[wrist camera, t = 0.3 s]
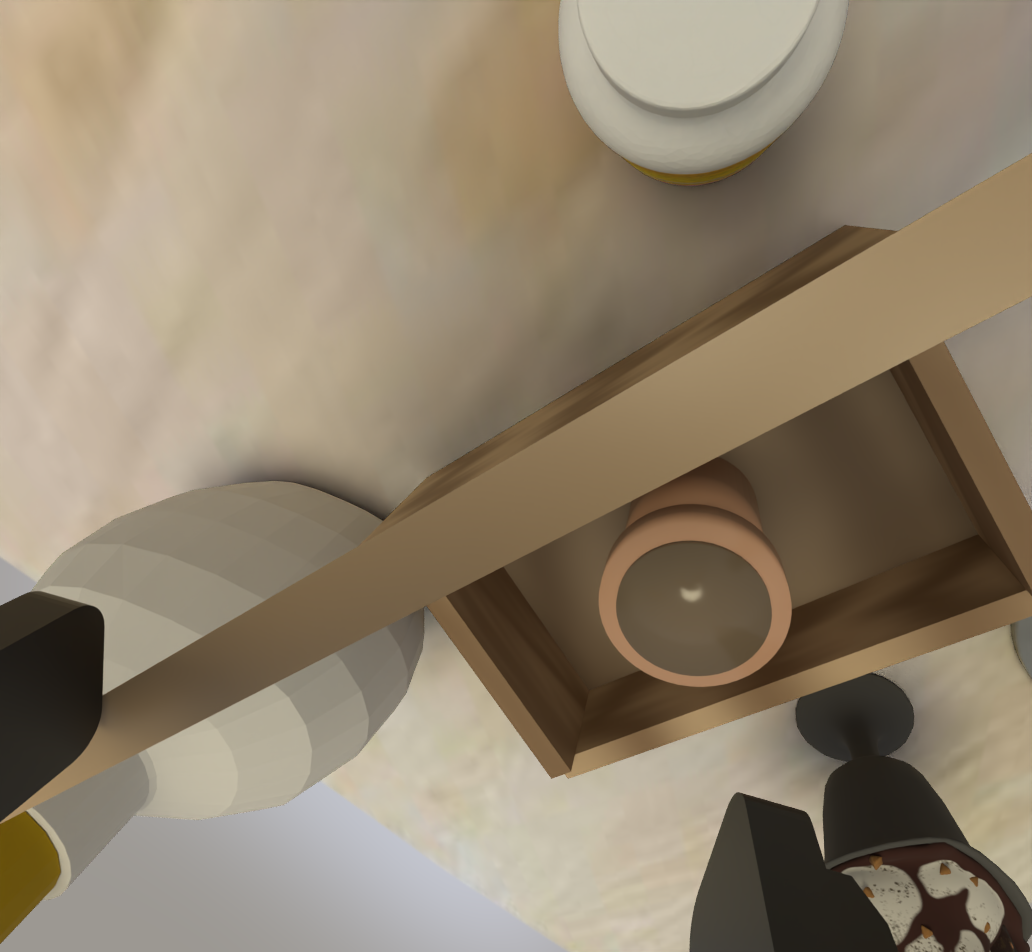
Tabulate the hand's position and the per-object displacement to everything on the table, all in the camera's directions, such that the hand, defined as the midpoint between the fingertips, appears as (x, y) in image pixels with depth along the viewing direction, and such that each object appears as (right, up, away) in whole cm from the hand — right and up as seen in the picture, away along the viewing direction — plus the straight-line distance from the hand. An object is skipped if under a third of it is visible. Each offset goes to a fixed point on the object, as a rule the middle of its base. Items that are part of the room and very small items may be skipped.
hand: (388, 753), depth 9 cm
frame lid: (+2, +3, +6) cm, 7 cm away
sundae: (+17, -8, +24) cm, 30 cm away
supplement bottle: (+8, +17, +16) cm, 25 cm away
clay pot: (+9, +2, +21) cm, 23 cm away
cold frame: (+9, +2, +22) cm, 24 cm away
